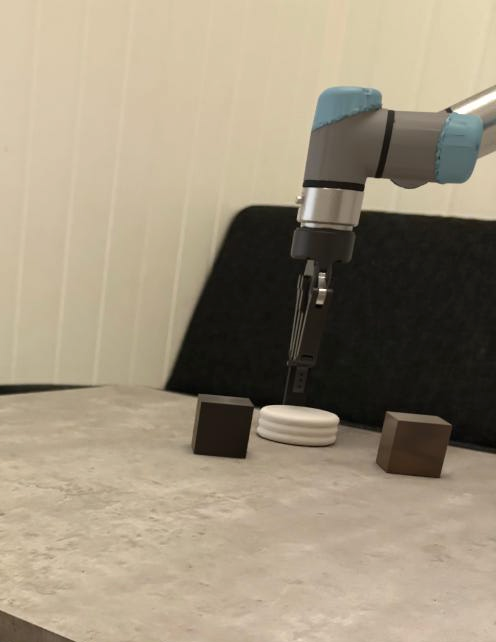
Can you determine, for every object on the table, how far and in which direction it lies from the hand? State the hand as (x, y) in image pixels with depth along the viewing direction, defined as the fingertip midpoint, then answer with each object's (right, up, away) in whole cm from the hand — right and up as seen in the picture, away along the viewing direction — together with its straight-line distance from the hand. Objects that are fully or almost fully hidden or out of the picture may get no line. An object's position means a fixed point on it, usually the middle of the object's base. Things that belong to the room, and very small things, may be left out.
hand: (291, 415), depth 136 cm
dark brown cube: (-13, -8, -16) cm, 22 cm away
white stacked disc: (-1, -4, -4) cm, 6 cm away
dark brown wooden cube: (+9, -10, -18) cm, 22 cm away
